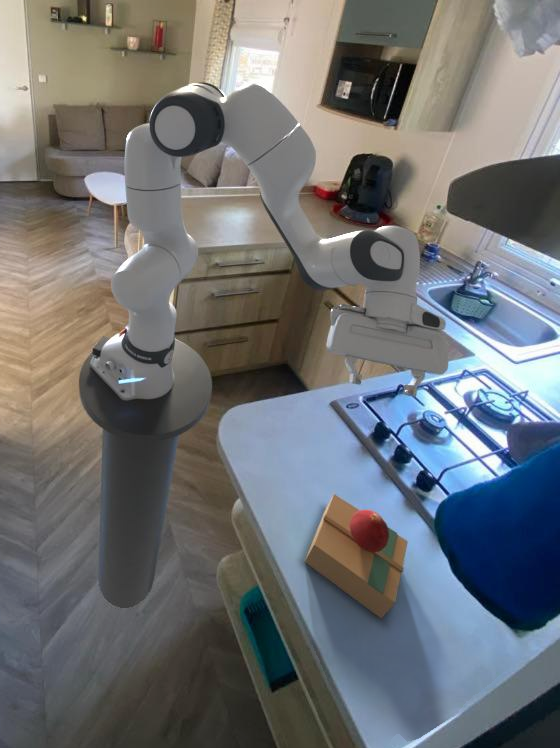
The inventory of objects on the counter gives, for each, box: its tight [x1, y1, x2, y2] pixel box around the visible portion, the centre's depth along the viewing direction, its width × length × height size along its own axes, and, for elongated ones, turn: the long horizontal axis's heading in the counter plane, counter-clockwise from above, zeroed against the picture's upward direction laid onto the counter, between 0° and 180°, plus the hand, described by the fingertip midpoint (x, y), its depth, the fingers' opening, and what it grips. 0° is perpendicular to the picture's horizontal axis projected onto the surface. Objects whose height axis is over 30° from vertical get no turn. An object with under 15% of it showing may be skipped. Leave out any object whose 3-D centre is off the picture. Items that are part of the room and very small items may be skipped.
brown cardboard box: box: [304, 493, 408, 619], centre depth 73 cm, size 13×11×6 cm
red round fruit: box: [350, 509, 389, 552], centre depth 69 cm, size 6×6×8 cm
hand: (382, 389), depth 74 cm, fingers open, 8 cm apart
